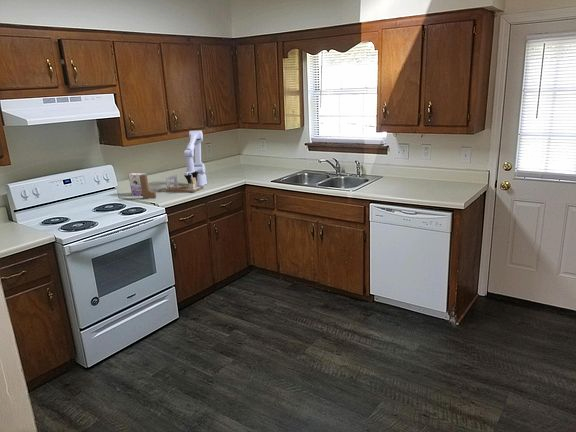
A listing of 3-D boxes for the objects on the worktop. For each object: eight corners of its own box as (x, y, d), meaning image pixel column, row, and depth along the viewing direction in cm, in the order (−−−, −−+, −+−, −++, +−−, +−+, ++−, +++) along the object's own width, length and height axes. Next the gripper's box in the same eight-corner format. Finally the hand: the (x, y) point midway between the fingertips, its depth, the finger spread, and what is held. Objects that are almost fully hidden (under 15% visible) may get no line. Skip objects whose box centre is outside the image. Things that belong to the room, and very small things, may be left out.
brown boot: (156, 196, 341) (152, 173, 336) (155, 198, 337) (151, 174, 332) (144, 197, 341) (140, 174, 335) (143, 199, 336) (139, 175, 331)
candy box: (149, 194, 352) (146, 173, 347) (143, 195, 347) (140, 174, 342) (137, 192, 358) (134, 172, 354) (131, 194, 354) (128, 173, 349)
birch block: (192, 187, 357) (191, 177, 354) (196, 187, 355) (195, 177, 353) (189, 188, 353) (188, 178, 351) (193, 188, 352) (192, 178, 349)
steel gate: (175, 185, 367) (174, 174, 364) (177, 185, 366) (176, 175, 364) (166, 188, 356) (165, 178, 354) (169, 188, 356) (167, 178, 353)
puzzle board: (175, 187, 369) (175, 185, 369) (203, 188, 359) (203, 186, 359) (164, 191, 357) (164, 189, 356) (193, 192, 347) (193, 190, 346)
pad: (191, 187, 359) (191, 186, 359) (200, 187, 356) (200, 187, 356) (186, 189, 352) (185, 189, 352) (194, 189, 349) (194, 189, 349)
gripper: (191, 163, 357) (193, 180, 361) (180, 167, 344) (182, 184, 348) (198, 163, 354) (200, 180, 358) (188, 167, 341) (190, 184, 345)
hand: (192, 182), depth 353 cm, fingers open, 7 cm apart
